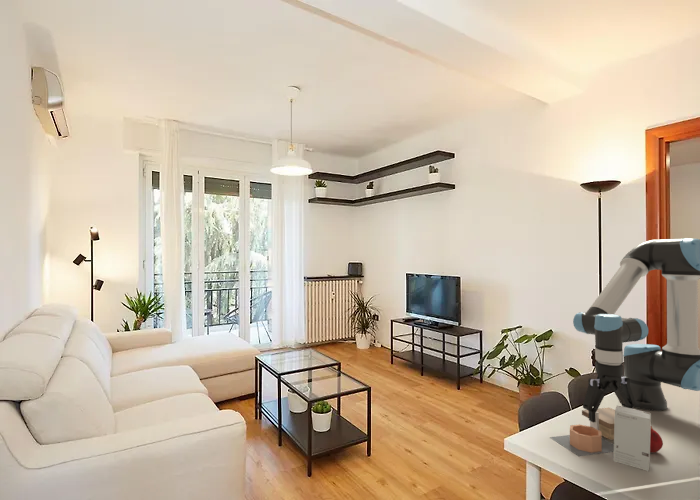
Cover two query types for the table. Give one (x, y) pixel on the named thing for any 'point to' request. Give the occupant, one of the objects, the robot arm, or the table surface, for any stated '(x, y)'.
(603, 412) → the board
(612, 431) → the light wooden block
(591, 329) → the robot arm
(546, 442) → the table surface
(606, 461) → the table surface
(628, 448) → the skincare box
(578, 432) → the bowl
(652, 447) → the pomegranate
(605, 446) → the placemat
